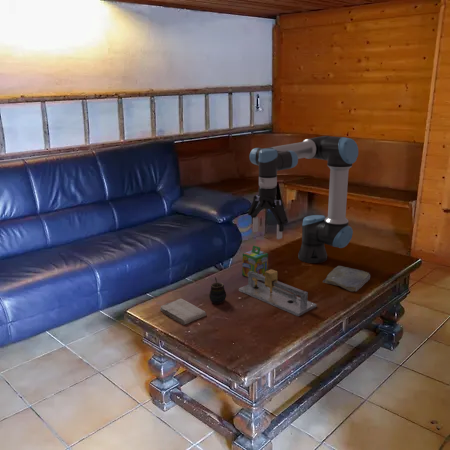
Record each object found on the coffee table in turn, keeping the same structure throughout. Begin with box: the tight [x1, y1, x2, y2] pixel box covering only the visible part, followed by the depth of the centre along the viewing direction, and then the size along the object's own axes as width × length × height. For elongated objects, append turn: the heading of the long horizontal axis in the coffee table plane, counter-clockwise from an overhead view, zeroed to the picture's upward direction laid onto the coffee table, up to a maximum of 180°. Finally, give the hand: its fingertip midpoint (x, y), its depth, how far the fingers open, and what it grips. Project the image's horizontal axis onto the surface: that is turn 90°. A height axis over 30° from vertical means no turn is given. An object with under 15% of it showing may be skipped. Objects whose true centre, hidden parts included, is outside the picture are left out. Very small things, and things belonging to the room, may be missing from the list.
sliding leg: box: [264, 269, 278, 293], centre depth 205 cm, size 4×4×10 cm
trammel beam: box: [238, 271, 317, 317], centre depth 204 cm, size 12×34×8 cm, turn 43°
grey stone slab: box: [322, 265, 371, 292], centre depth 221 cm, size 20×5×17 cm
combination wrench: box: [272, 286, 300, 300], centre depth 208 cm, size 4×1×20 cm
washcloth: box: [159, 298, 207, 325], centre depth 194 cm, size 12×18×3 cm, turn 43°
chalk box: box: [241, 245, 269, 278], centre depth 228 cm, size 9×9×15 cm
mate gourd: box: [209, 276, 227, 305], centre depth 202 cm, size 7×8×10 cm
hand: (267, 235), depth 202 cm, fingers open, 13 cm apart
